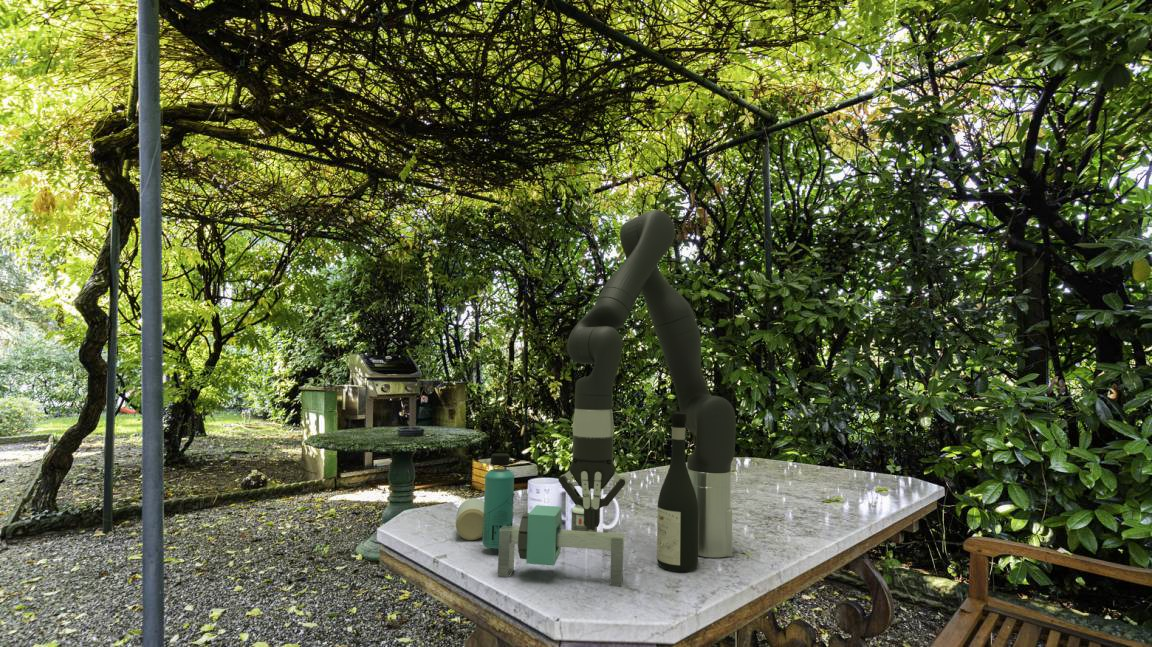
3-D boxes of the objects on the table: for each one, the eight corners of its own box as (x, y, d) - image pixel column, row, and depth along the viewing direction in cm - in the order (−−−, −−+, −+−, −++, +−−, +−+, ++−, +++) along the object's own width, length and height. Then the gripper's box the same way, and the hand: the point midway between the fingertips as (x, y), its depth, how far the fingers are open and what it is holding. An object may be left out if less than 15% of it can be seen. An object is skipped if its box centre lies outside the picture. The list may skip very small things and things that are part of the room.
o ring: (535, 550, 108) (536, 510, 108) (526, 563, 100) (527, 520, 101) (526, 550, 108) (528, 509, 109) (517, 563, 100) (518, 519, 101)
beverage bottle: (487, 557, 112) (491, 456, 114) (476, 548, 118) (480, 452, 120) (517, 553, 115) (520, 455, 117) (506, 544, 121) (509, 450, 123)
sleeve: (560, 552, 107) (561, 506, 107) (553, 565, 100) (555, 516, 100) (534, 551, 107) (536, 505, 108) (526, 563, 100) (527, 514, 101)
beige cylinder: (454, 542, 122) (456, 506, 123) (455, 531, 130) (457, 497, 131) (503, 542, 124) (505, 506, 124) (501, 531, 132) (503, 498, 133)
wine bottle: (671, 575, 105) (672, 414, 108) (649, 562, 113) (651, 411, 115) (706, 570, 109) (707, 414, 111) (682, 557, 116) (684, 411, 118)
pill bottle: (594, 547, 121) (595, 500, 122) (568, 545, 122) (569, 498, 123) (598, 540, 126) (599, 495, 127) (573, 538, 128) (574, 493, 129)
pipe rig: (623, 578, 103) (624, 532, 104) (622, 586, 99) (623, 538, 100) (502, 568, 106) (504, 523, 107) (496, 576, 102) (498, 529, 103)
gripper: (629, 432, 107) (628, 525, 106) (561, 430, 109) (559, 521, 108) (627, 436, 100) (626, 537, 98) (554, 434, 102) (552, 532, 100)
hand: (591, 528), depth 103 cm, fingers closed
